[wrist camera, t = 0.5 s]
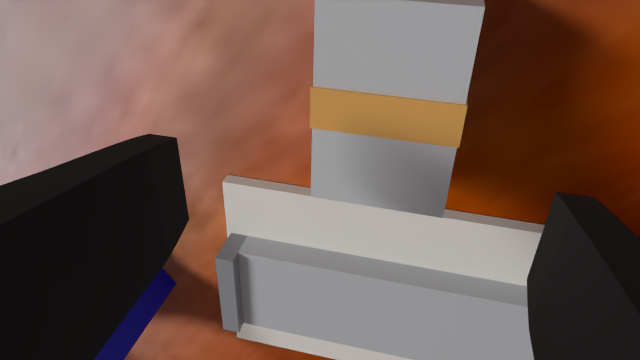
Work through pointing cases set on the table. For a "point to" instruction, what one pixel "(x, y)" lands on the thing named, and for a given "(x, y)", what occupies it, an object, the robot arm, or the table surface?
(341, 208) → the rail board
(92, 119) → the table surface
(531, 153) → the table surface
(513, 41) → the table surface
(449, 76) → the block
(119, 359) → the cable clip
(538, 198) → the table surface
